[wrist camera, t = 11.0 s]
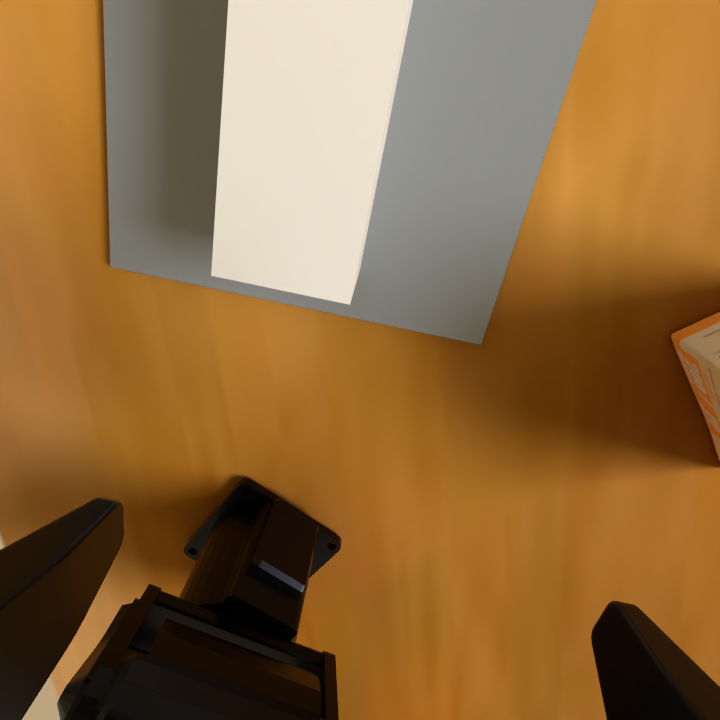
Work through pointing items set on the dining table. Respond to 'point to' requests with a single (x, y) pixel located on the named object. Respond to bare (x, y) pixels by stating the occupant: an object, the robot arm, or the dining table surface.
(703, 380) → the supplement box
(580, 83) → the dining table surface
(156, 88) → the mat
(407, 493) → the dining table surface
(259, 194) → the block
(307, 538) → the robot arm
